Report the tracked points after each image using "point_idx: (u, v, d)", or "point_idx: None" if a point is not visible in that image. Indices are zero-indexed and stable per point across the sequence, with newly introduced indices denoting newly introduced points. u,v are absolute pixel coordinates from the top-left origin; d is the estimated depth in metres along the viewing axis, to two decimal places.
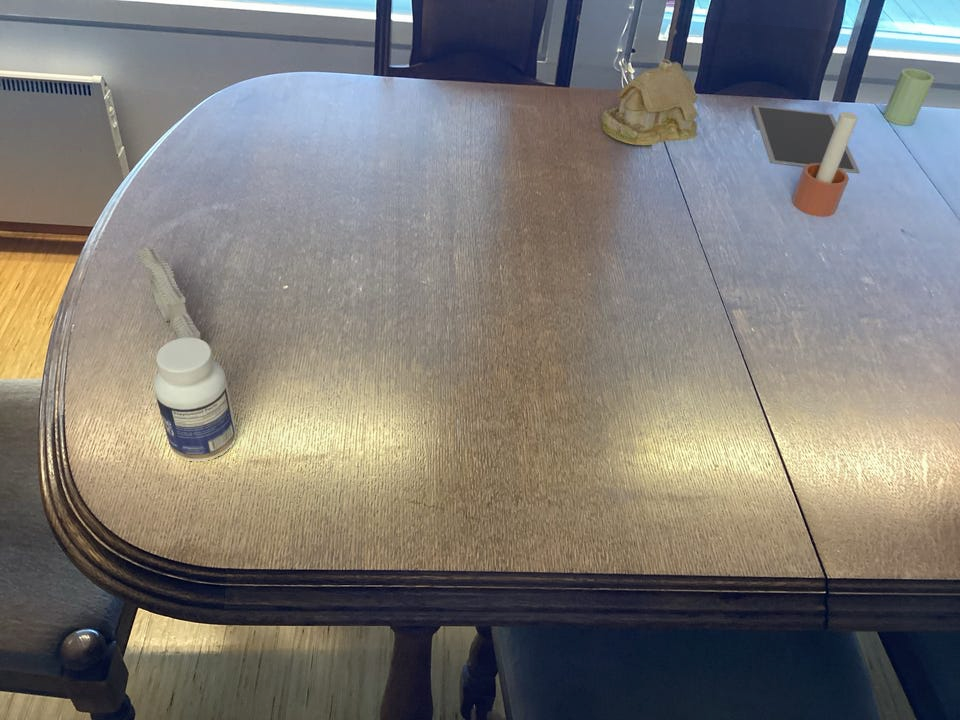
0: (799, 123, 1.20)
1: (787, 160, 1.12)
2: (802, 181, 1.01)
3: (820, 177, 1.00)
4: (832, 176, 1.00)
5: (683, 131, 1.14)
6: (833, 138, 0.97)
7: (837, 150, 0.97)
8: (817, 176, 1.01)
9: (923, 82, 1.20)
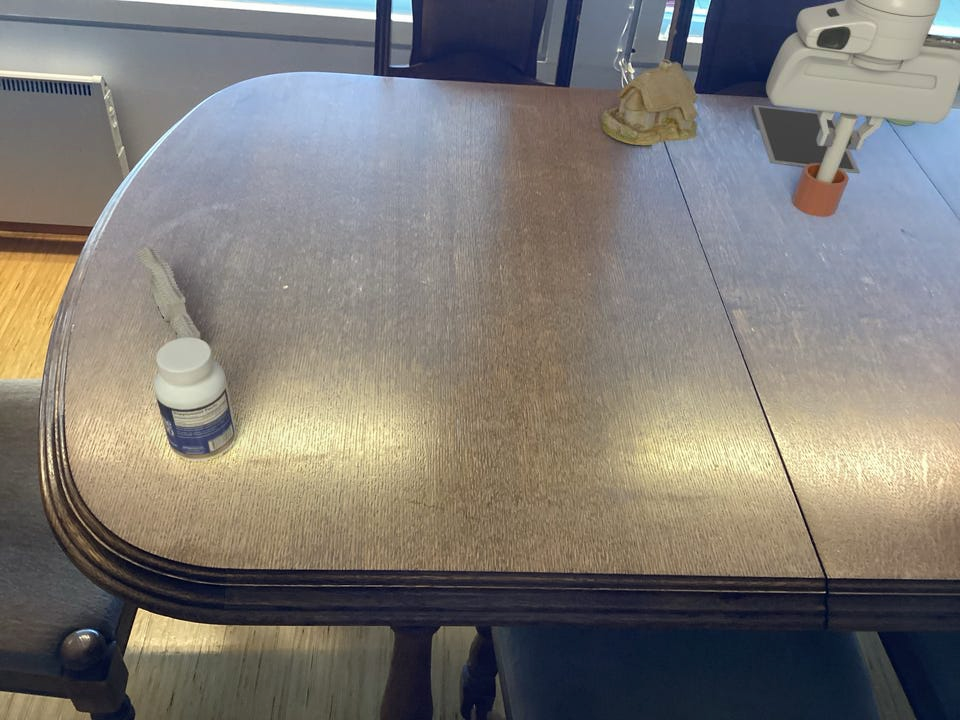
0: (799, 123, 1.20)
1: (787, 160, 1.12)
2: (802, 181, 1.01)
3: (820, 177, 1.00)
4: (832, 176, 1.00)
5: (683, 131, 1.14)
6: None
7: (837, 150, 0.97)
8: (817, 176, 1.01)
9: None
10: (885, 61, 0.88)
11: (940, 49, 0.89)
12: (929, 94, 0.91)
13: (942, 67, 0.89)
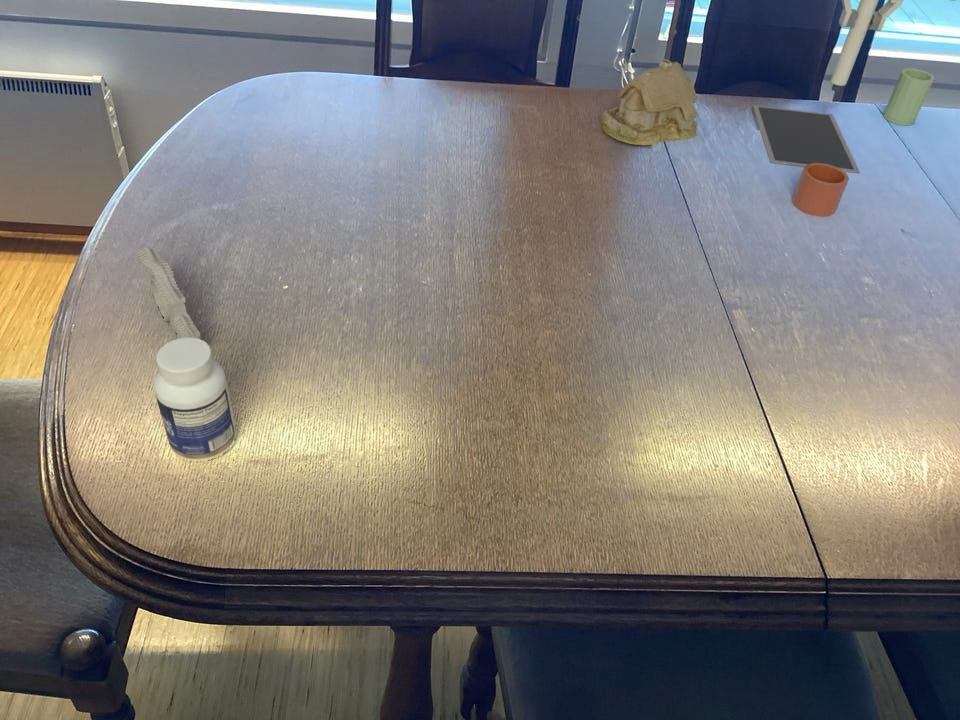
0: (799, 123, 1.20)
1: (787, 160, 1.12)
2: (802, 181, 1.01)
3: (842, 60, 1.03)
4: (854, 58, 1.03)
5: (683, 131, 1.14)
6: None
7: (859, 30, 1.01)
8: (839, 59, 1.04)
9: (923, 82, 1.20)
10: None
11: None
12: None
13: None
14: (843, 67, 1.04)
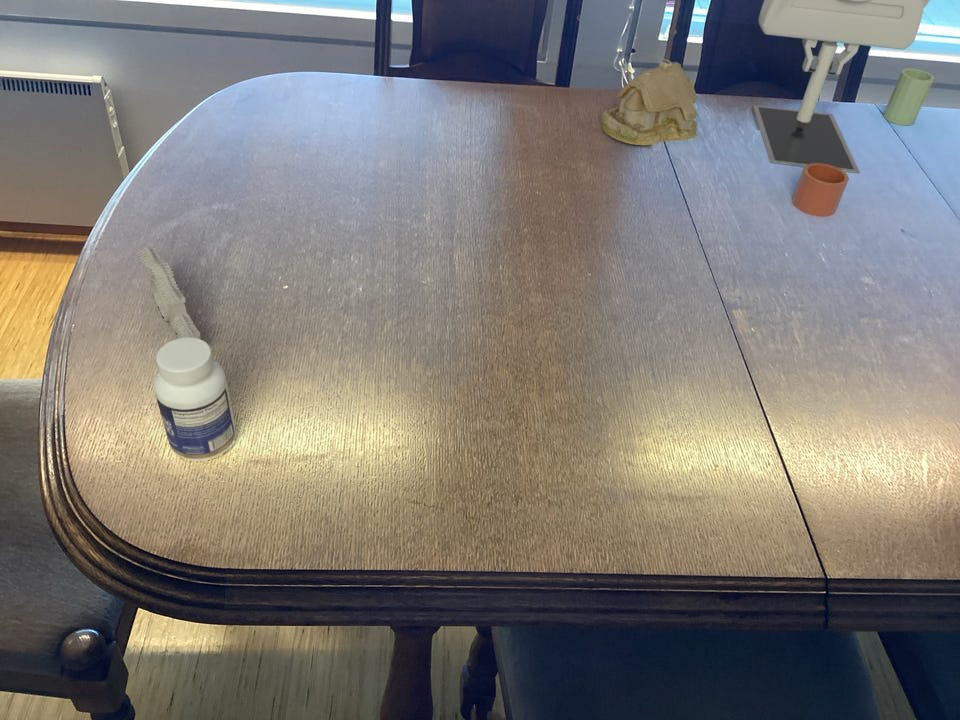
0: None
1: (787, 160, 1.12)
2: (802, 181, 1.01)
3: (806, 100, 1.16)
4: (816, 99, 1.16)
5: (683, 131, 1.14)
6: None
7: (820, 75, 1.13)
8: (803, 99, 1.17)
9: (923, 82, 1.20)
10: None
11: None
12: (897, 23, 1.07)
13: None
14: (807, 106, 1.16)
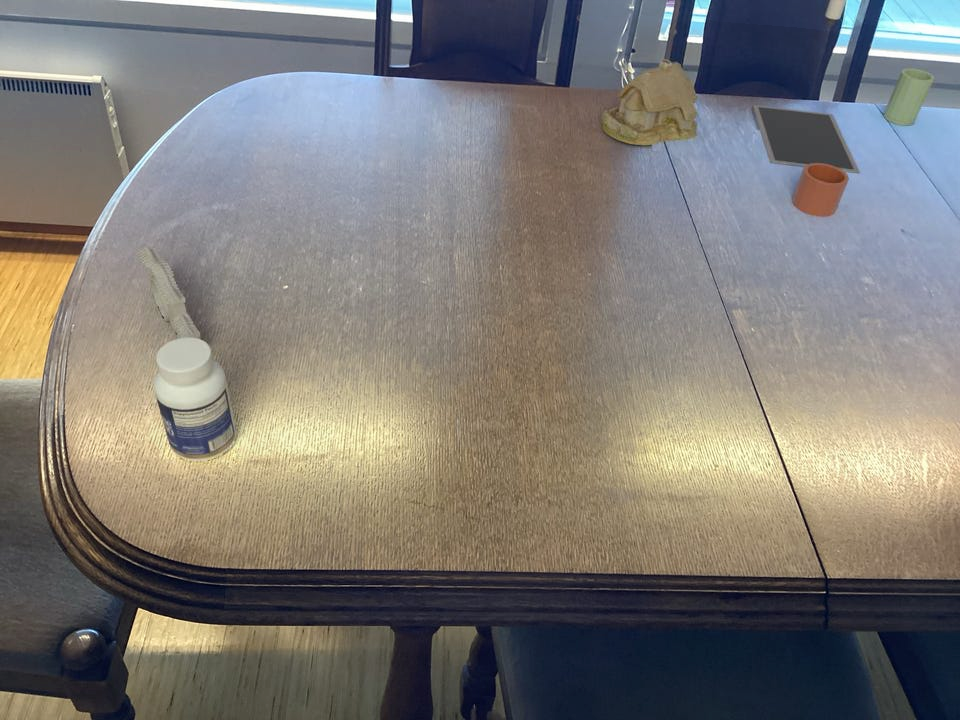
0: (799, 123, 1.20)
1: (787, 160, 1.12)
2: (802, 181, 1.01)
3: None
4: None
5: (683, 131, 1.14)
6: None
7: None
8: None
9: (923, 82, 1.20)
10: None
11: None
12: None
13: None
14: (837, 1, 1.10)
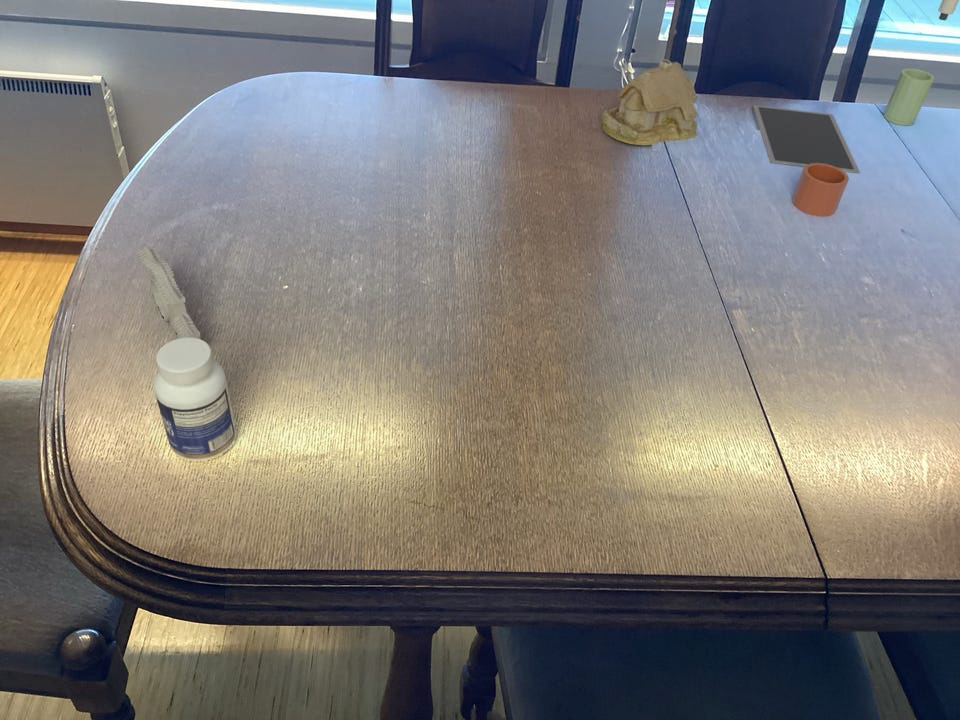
0: (799, 123, 1.20)
1: (787, 160, 1.12)
2: (802, 181, 1.01)
3: None
4: None
5: (683, 131, 1.14)
6: None
7: None
8: None
9: (923, 82, 1.20)
10: None
11: None
12: None
13: None
14: None
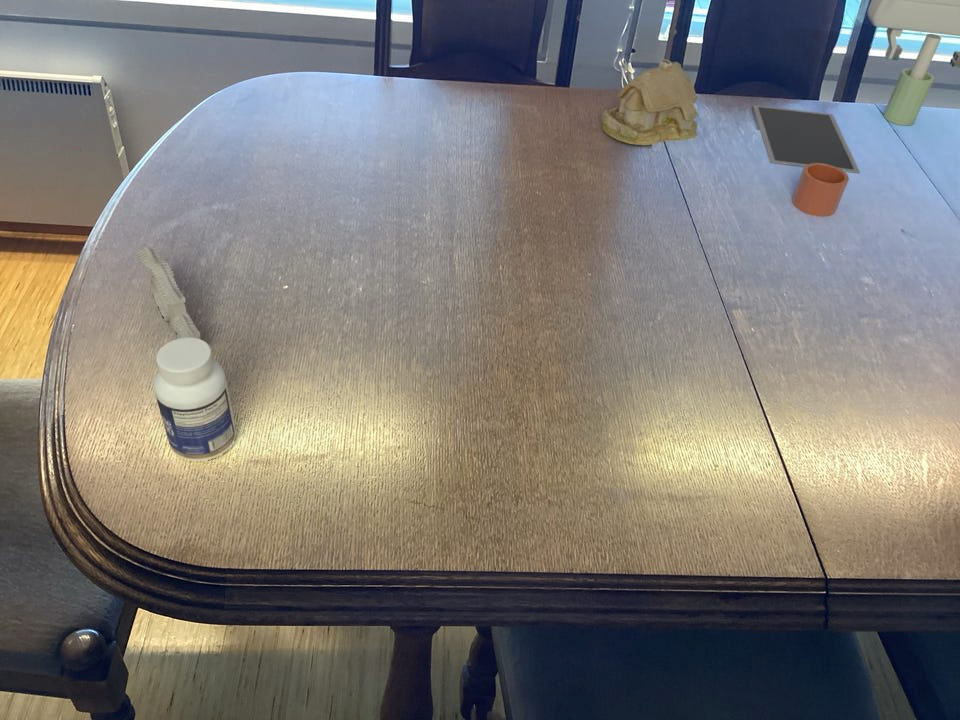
0: (799, 123, 1.20)
1: (787, 160, 1.12)
2: (802, 181, 1.01)
3: None
4: None
5: (683, 131, 1.14)
6: (920, 56, 1.19)
7: (923, 66, 1.20)
8: None
9: (923, 82, 1.20)
10: None
11: None
12: None
13: None
14: None
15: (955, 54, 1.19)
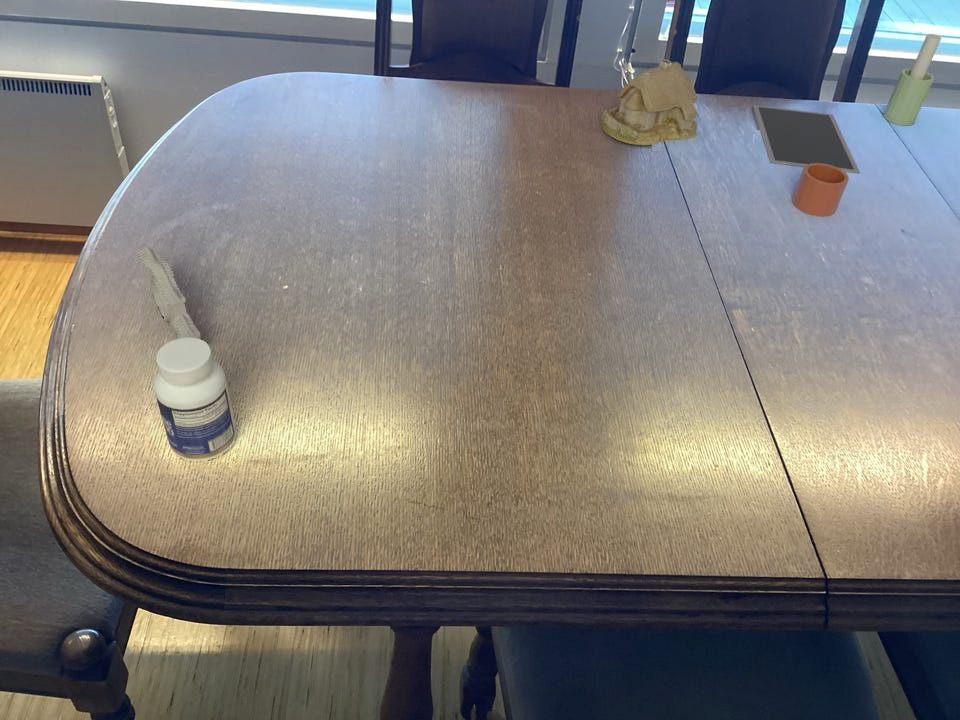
0: (799, 123, 1.20)
1: (787, 160, 1.12)
2: (802, 181, 1.01)
3: None
4: None
5: (683, 131, 1.14)
6: (920, 56, 1.19)
7: (923, 66, 1.20)
8: None
9: (923, 82, 1.20)
10: None
11: None
12: None
13: None
14: None
15: None
